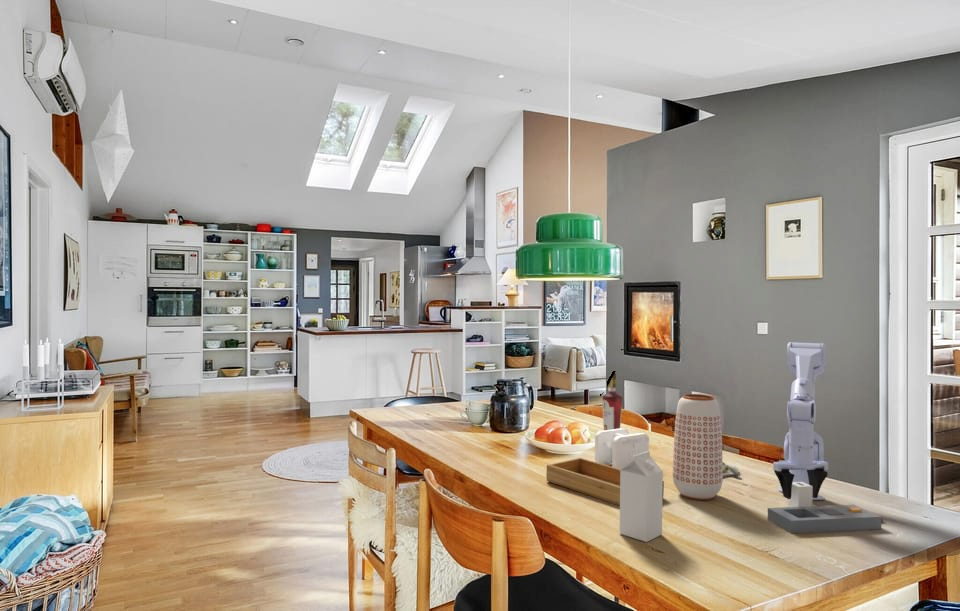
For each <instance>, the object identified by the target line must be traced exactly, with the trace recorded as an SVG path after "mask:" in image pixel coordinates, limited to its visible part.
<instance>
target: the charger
mask: <svg viewBox="0 0 960 611" xmlns="http://www.w3.org/2000/svg"><path fill="white" fill-rule="evenodd" d="M812 493H813V486H811V485H808V484H806V483H804V482H792V493H791V499H787V500H788V502H787V504H788V506H787V507H806V506H813V500H812Z"/></svg>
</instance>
